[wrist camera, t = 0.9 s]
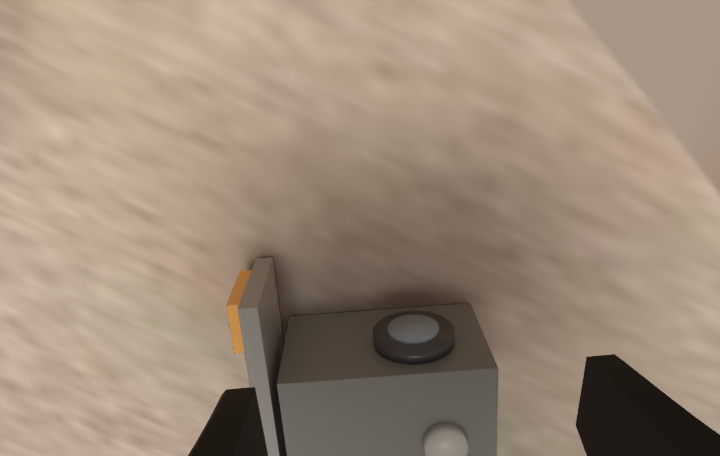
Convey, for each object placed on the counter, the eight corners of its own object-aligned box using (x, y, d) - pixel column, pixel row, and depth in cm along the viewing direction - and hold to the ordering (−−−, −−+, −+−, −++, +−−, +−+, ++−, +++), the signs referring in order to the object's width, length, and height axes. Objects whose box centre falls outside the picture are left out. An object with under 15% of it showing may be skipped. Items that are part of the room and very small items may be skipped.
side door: (308, 504, 29) (302, 585, 25) (280, 506, 29) (269, 588, 25) (276, 257, 24) (261, 307, 20) (242, 259, 24) (221, 309, 20)
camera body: (470, 479, 29) (497, 583, 24) (311, 491, 29) (304, 597, 24) (469, 289, 25) (502, 362, 20) (287, 303, 25) (272, 379, 20)
